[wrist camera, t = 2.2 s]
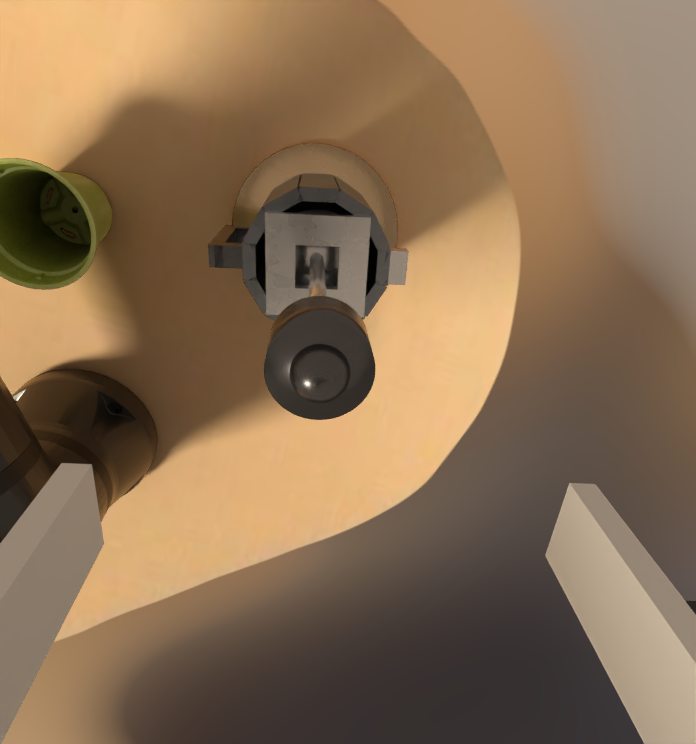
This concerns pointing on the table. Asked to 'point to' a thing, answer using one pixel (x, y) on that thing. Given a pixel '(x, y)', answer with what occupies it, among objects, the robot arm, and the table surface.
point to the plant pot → (48, 224)
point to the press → (312, 228)
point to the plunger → (318, 344)
